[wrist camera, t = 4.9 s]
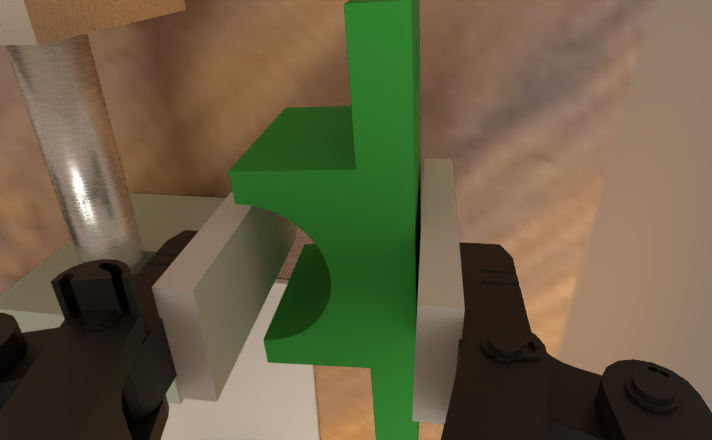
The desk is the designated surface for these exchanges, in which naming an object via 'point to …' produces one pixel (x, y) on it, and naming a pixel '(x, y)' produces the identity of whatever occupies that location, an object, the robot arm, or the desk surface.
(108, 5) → the shaft
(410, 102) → the pipe clamp
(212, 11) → the desk surface
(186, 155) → the desk surface
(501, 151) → the desk surface
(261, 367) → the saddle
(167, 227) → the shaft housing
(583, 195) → the desk surface
